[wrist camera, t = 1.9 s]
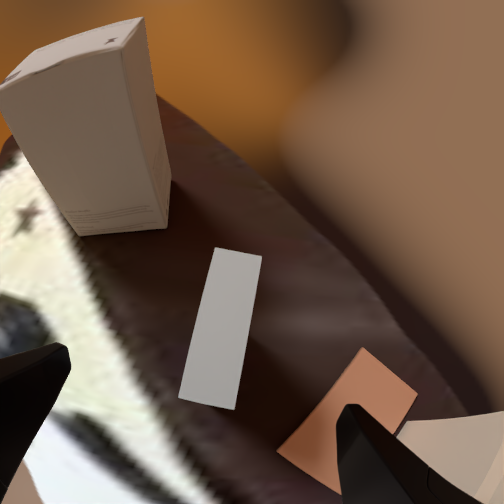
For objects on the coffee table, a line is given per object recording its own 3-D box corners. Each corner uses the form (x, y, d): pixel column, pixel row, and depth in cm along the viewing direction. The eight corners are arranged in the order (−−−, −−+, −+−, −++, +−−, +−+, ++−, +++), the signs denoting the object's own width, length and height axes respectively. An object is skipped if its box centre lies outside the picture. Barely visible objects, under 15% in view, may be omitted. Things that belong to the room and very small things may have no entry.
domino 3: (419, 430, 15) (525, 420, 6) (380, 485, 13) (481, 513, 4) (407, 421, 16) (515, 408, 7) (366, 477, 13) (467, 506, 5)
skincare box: (172, 177, 24) (154, 13, 11) (168, 234, 21) (130, 40, 8) (87, 186, 23) (36, 44, 10) (72, 241, 20) (-13, 88, 7)
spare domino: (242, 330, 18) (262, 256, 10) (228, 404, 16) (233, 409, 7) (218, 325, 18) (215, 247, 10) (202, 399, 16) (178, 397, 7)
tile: (341, 495, 13) (343, 496, 12) (276, 450, 14) (277, 451, 14) (414, 394, 17) (417, 393, 16) (360, 348, 18) (362, 347, 18)
